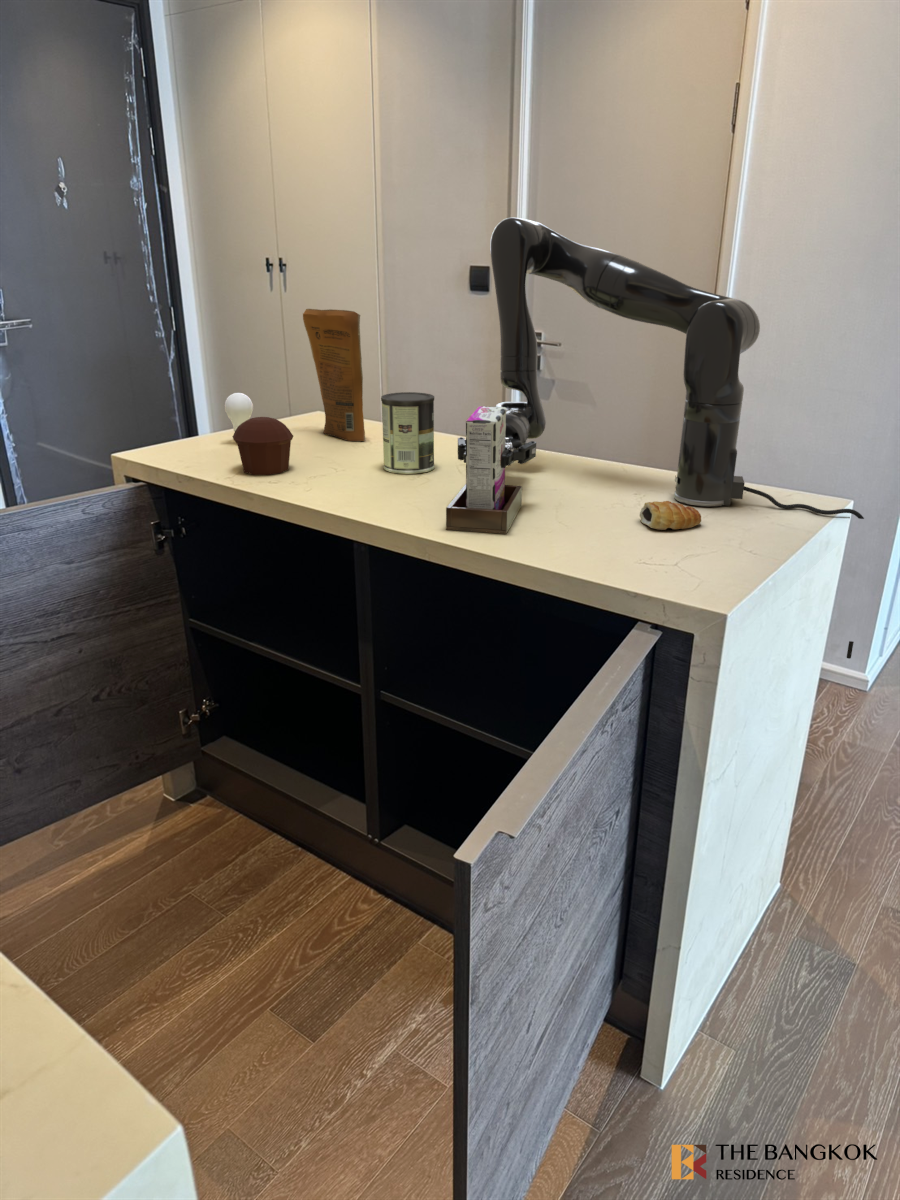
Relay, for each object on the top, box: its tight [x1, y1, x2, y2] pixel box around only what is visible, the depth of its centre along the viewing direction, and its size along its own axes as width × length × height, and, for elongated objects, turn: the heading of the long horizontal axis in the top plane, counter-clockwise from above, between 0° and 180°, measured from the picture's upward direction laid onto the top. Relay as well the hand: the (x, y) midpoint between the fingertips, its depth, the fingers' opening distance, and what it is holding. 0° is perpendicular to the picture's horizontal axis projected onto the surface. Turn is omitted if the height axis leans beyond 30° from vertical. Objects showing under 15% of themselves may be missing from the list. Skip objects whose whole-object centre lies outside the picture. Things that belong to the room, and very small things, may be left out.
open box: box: [445, 483, 523, 535], centre depth 140 cm, size 10×16×4 cm, turn 167°
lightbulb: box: [224, 392, 254, 432], centre depth 190 cm, size 6×6×11 cm
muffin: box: [232, 416, 294, 476], centre depth 168 cm, size 12×11×10 cm
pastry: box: [639, 500, 702, 531], centre depth 137 cm, size 9×7×4 cm
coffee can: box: [380, 391, 435, 475], centre depth 169 cm, size 10×10×14 cm
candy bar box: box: [465, 405, 506, 510], centre depth 138 cm, size 11×5×16 cm, turn 168°
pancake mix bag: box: [302, 308, 366, 442], centre depth 193 cm, size 7×19×28 cm, turn 40°
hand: (485, 460), depth 137 cm, fingers closed on candy bar box, 5 cm apart
